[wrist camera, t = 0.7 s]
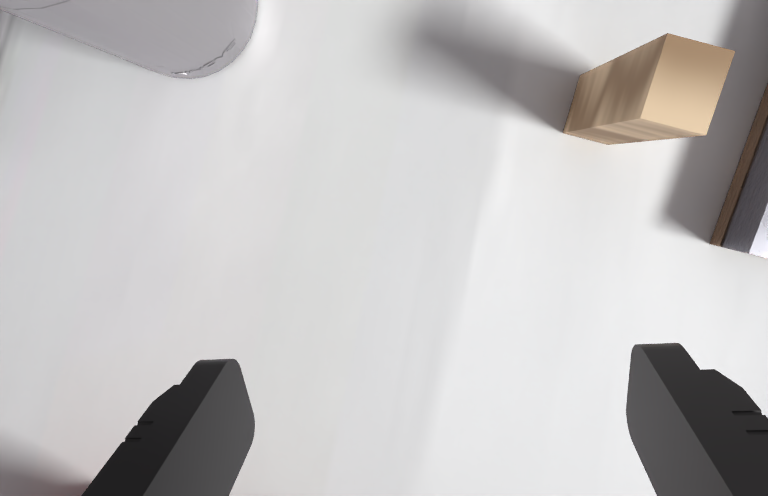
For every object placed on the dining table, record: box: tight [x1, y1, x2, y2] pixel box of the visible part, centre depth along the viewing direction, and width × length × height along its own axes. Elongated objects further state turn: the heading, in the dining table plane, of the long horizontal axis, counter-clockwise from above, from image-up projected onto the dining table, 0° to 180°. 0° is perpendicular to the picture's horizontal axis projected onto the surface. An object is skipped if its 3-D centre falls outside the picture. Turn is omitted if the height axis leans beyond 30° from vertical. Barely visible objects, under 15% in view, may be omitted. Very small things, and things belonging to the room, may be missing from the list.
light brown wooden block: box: [563, 33, 735, 145], centre depth 26 cm, size 4×3×10 cm
